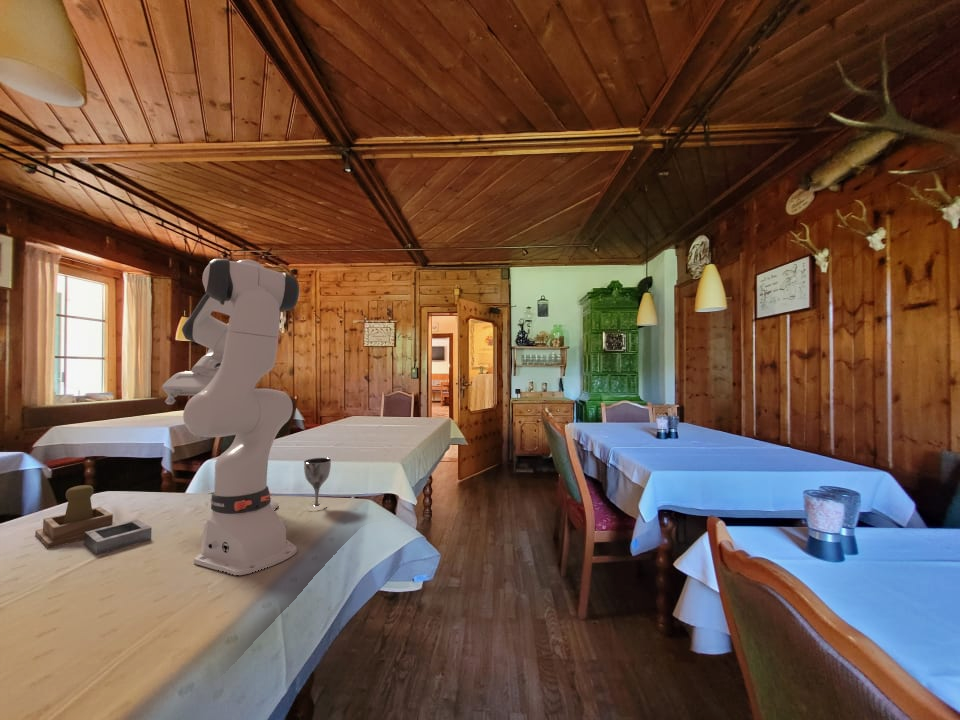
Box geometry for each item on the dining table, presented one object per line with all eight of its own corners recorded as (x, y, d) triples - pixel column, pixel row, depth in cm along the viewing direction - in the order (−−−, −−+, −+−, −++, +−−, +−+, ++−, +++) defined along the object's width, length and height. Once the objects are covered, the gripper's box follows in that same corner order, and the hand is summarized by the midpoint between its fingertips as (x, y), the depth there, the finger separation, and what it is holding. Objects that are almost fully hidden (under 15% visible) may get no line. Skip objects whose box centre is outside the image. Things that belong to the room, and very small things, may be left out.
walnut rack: (119, 530, 104) (119, 514, 104) (48, 548, 93) (48, 530, 93) (102, 519, 112) (103, 504, 112) (35, 534, 101) (36, 518, 101)
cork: (72, 533, 99) (74, 490, 99) (55, 531, 100) (57, 488, 101) (100, 524, 105) (102, 484, 105) (83, 522, 106) (85, 482, 107)
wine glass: (304, 504, 126) (305, 458, 126) (330, 502, 128) (331, 457, 129) (301, 513, 118) (302, 464, 119) (328, 510, 121) (329, 462, 121)
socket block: (151, 539, 99) (151, 527, 99) (96, 555, 90) (97, 542, 90) (136, 530, 104) (137, 519, 104) (83, 544, 96) (84, 532, 96)
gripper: (174, 364, 127) (144, 396, 117) (232, 365, 125) (206, 397, 115) (185, 378, 131) (157, 409, 121) (241, 378, 129) (218, 410, 119)
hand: (182, 403), depth 118 cm, fingers open, 8 cm apart
